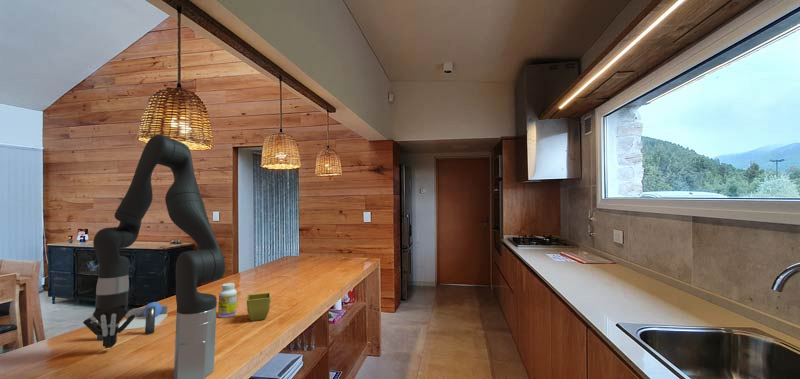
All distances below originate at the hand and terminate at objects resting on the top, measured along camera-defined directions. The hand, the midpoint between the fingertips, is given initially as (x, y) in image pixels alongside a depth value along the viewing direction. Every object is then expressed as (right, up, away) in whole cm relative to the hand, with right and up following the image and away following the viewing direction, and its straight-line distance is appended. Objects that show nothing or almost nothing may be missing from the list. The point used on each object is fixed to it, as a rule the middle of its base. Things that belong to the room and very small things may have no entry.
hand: (109, 346), depth 97 cm
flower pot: (+33, -4, +29) cm, 44 cm away
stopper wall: (-14, -3, +33) cm, 36 cm away
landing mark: (-11, -3, +25) cm, 27 cm away
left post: (-11, -2, +9) cm, 15 cm away
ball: (-11, 0, +30) cm, 32 cm away
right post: (+1, -2, +14) cm, 15 cm away
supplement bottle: (+18, -4, +33) cm, 38 cm away
